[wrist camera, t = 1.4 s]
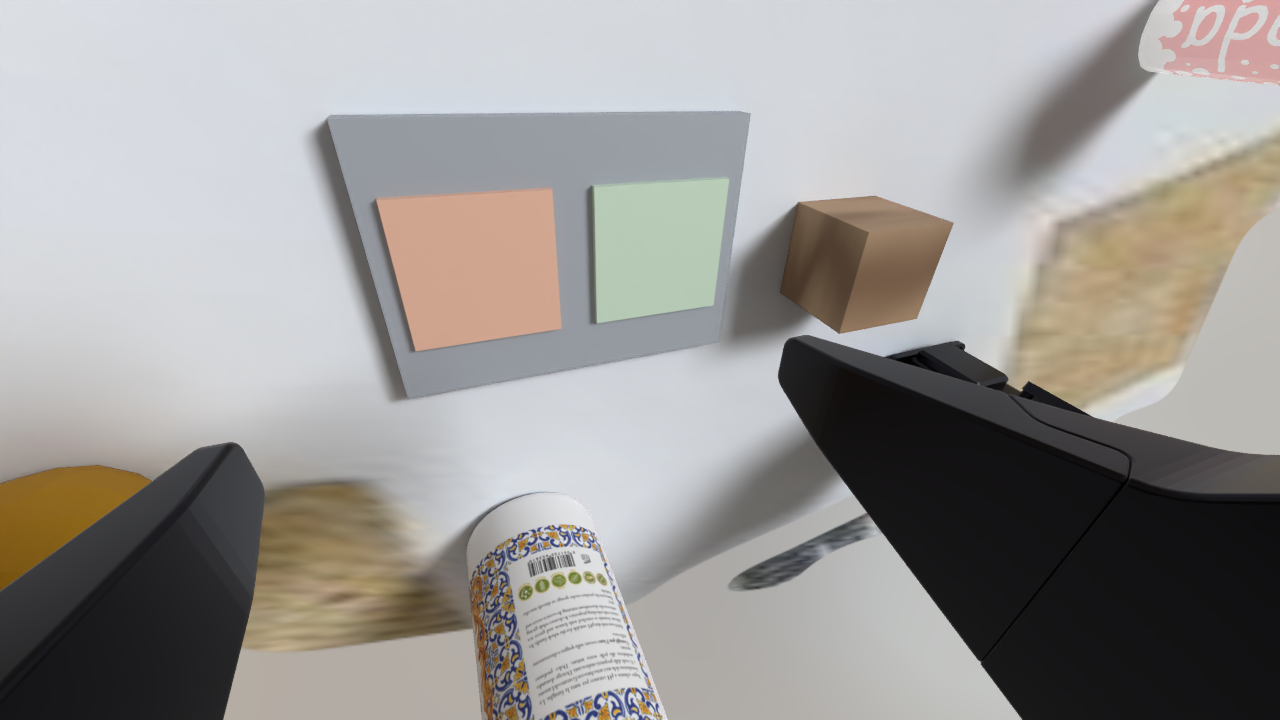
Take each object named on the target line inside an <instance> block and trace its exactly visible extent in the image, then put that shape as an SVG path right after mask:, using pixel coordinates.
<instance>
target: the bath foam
mask: <svg viewBox="0 0 1280 720" xmlns="http://www.w3.org/2000/svg"><path fill="white" fill-rule="evenodd" d="M467 568H468V578H469V592H470V602H471V612H472V623H473V633H474V643H475V653H476V663H477V672H478V683H479V693H480V703H481V713H482V720H668V719H667V717H666V714H665V711H664V708H663V706H662V703H661V700H660V698H659V695H658V692H657V690H656V687H655V684H654V682H653V679H652V676H651V673H650V671H649V668H648V665H647V663H646V660H645V657H644V655H643V652H642V649H641V646H640V644H639V641H638V638H637V636H636V633H635V630H634V628H633V625H632V622H631V620H630V617H629V614H628V612H627V609H626V606H625V603H624V601H623V598H622V595H621V593H620V590H619V587H618V585H617V582H616V579H615V576H614V574H613V571H612V568H611V566H610V563H609V560H608V558H607V555H606V552H605V550H604V547H603V544H602V541H601V539H600V536H599V533H598V531H597V528H596V525H595V523H594V520H593V518H592V515H591V513H590V511H589V510H588V508H587V507H586V506H585V505H584V504H583V503H582V502H580V501H579V500H578V499H576V498H574V497H572V496H569V495H566V494H562V493H554V492H542V493H534V494H529V495H525V496H521V497H518V498H515V499H513V500H511V501H508V502H506V503H504V504H502V505H501V506H499V507H497V508H496V509H494V510H493V511H492V512H490V513H489V514H488V515H487V516H486V517H485V518H483V520H482V521H481V522H480V523H479V524H478V525H477V527H476V528H475V529H474V531H473V533H472V535H471V537H470V539H469V542H468V545H467Z"/></svg>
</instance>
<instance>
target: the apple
mask: <svg viewBox="0 0 1280 720" xmlns="http://www.w3.org/2000/svg"><path fill="white" fill-rule="evenodd" d="M150 482H152V481H151V480H149V479H147V478H145V477H144V476H142V475H140V474H138V473H133V472H128V471H124V470H119V469H114V468H109V467H104V466H100V465H95V466H81V467H66V468H56V469H52V470H48V471H44V472H40V473H36V474H32V475H29V476H25V477H21V478H17V479H14V480H10V481H7V482H4V483H1V484H0V591H1V590H2V589H4V588H5V587H6V586H8V585H9V584H10V583H12V582H13V581H15V580H16V579H17V578H19V577H20V576H22V575H23V574H24V573H26V572H27V571H28V570H30V569H31V568H33V567H34V566H35V565H37V564H38V563H40V562H41V561H42V560H44V559H45V558H47V557H48V556H49V555H51V554H52V553H53V552H55V551H56V550H58V549H59V548H60V547H62V546H63V545H65V544H66V543H67V542H69V541H70V540H71V539H73V538H74V537H76V536H77V535H78V534H80V533H81V532H83V531H84V530H85V529H87V528H88V527H89V526H91V525H92V524H94V523H95V522H96V521H98V520H99V519H101V518H102V517H103V516H105V515H106V514H107V513H109V512H110V511H112V510H113V509H114V508H116V507H117V506H119V505H120V504H121V503H123V502H124V501H126V500H127V499H128V498H130V497H131V496H132V495H134V494H135V493H137V492H138V491H139V490H141V489H142V488H144V487H145V486H146V485H148V484H149V483H150Z"/></svg>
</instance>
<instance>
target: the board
mask: <svg viewBox="0 0 1280 720" xmlns="http://www.w3.org/2000/svg"><path fill="white" fill-rule="evenodd" d="M327 121H328V125H329V128H330V132H331V135H332V139H333V142H334V145H335V149H336V152H337V156H338V159H339V163H340V166H341V170H342V173H343V177H344V180H345V184H346V187H347V190H348V194H349V197H350V201H351V204H352V208H353V211H354V215H355V218H356V222H357V225H358V228H359V232H360V235H361V239H362V242H363V246H364V249H365V253H366V256H367V260H368V263H369V267H370V270H371V273H372V277H373V280H374V284H375V287H376V291H377V294H378V298H379V301H380V305H381V308H382V311H383V315H384V318H385V322H386V325H387V329H388V332H389V336H390V339H391V343H392V346H393V350H394V353H395V356H396V360H397V363H398V367H399V370H400V374H401V377H402V381H403V384H404V388H405V391H406V394H407V398H408V399H411V398H416V397H421V396H427V395H432V394H438V393H443V392H449V391H454V390H460V389H465V388H471V387H476V386H482V385H487V384H493V383H498V382H504V381H509V380H515V379H520V378H526V377H531V376H536V375H542V374H547V373H553V372H558V371H564V370H569V369H575V368H580V367H586V366H591V365H597V364H602V363H608V362H613V361H619V360H624V359H630V358H635V357H641V356H646V355H651V354H657V353H662V352H668V351H673V350H679V349H684V348H690V347H695V346H701V345H706V344H712V343H717V342H719V338H720V331H721V324H722V317H723V309H724V302H725V295H726V288H727V281H728V273H729V266H730V259H731V252H732V244H733V237H734V230H735V223H736V215H737V208H738V201H739V194H740V187H741V179H742V172H743V165H744V158H745V150H746V143H747V136H748V129H749V122H750V113H745V112H741V111H707V112H607V113H507V114H406V115H330V116H329V117H328V118H327Z"/></svg>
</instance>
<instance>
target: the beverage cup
mask: <svg viewBox="0 0 1280 720" xmlns="http://www.w3.org/2000/svg"><path fill="white" fill-rule="evenodd" d="M1138 56H1139V62H1140V67H1142V68H1143V69H1145V70H1146V71H1148V72H1158V73H1167V74H1176V75H1186V76H1195V77H1204V78H1213V79H1223V80H1232V81H1241V82H1250V83H1260V84H1269V85H1278V86H1280V0H1159V1H1158V3H1157V4H1156V6H1155V8H1154V9H1153V11H1152V12H1151V14H1150V16H1149V19H1148V21H1147V24H1146V26H1145V28H1144V31H1143V33H1142V36H1141V41H1140V46H1139V52H1138Z"/></svg>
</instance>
